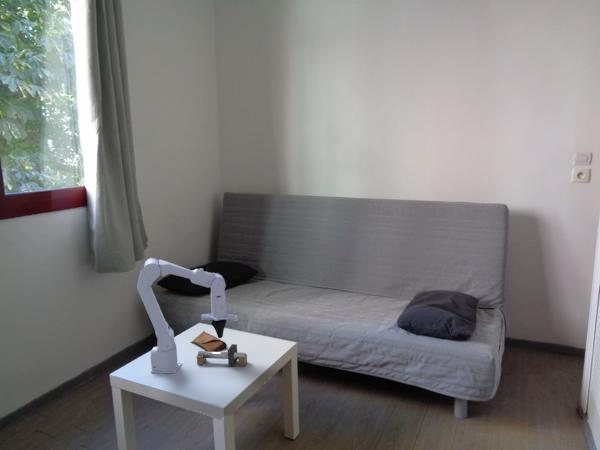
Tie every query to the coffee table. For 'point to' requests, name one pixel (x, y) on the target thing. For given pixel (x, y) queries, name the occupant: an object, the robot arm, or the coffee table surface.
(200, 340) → the sunglasses case
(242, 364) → the pipe
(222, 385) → the coffee table surface
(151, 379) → the coffee table surface
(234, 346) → the ring
